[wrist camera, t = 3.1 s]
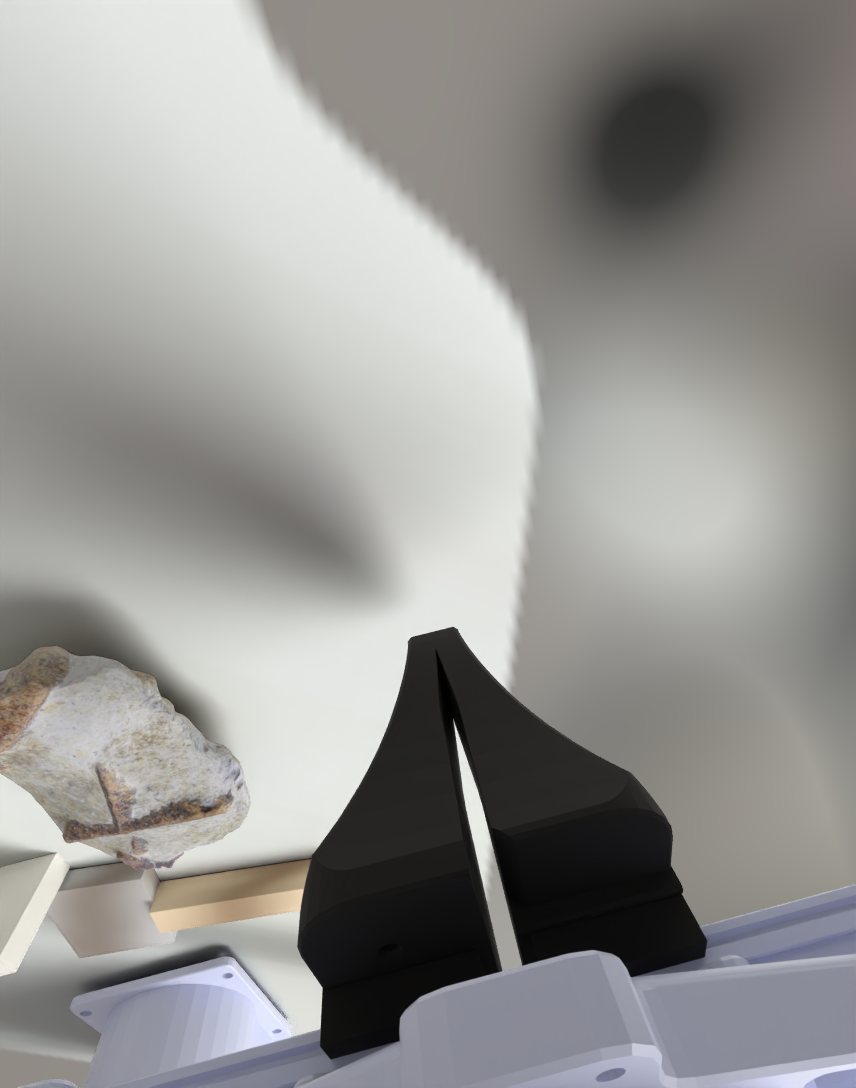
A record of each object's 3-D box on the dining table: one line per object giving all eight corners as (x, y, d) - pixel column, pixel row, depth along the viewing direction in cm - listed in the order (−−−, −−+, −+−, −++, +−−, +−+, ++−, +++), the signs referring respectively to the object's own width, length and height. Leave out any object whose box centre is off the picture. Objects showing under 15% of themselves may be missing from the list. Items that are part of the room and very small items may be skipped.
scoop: (341, 830, 21) (340, 858, 20) (352, 894, 23) (352, 922, 22) (46, 873, 19) (28, 906, 18) (88, 936, 22) (74, 969, 21)
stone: (297, 777, 18) (286, 848, 16) (136, 836, 19) (104, 912, 17) (124, 599, 14) (75, 664, 11) (-79, 687, 14) (-164, 765, 12)
